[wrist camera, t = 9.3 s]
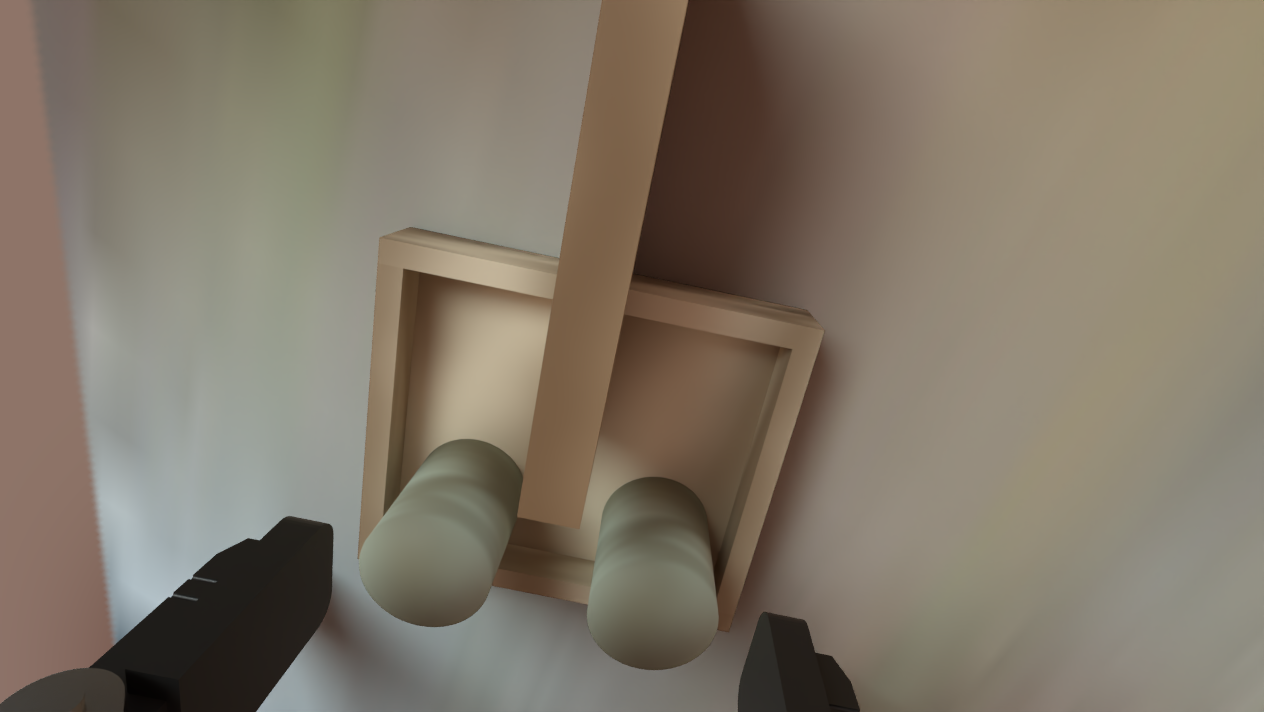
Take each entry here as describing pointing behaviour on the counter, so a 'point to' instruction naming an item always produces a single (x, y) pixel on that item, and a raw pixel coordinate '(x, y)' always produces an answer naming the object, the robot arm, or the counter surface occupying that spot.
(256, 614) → the robot arm
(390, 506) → the tray
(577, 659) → the counter surface
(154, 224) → the counter surface
